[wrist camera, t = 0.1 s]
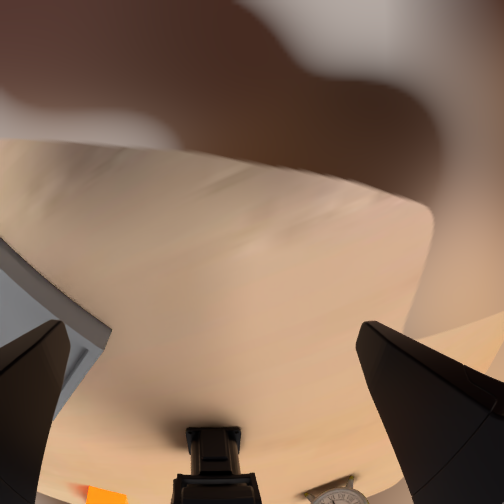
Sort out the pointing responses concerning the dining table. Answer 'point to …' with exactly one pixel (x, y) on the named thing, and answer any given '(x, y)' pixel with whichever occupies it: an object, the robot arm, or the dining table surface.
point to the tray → (47, 317)
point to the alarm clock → (339, 495)
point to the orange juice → (104, 497)
